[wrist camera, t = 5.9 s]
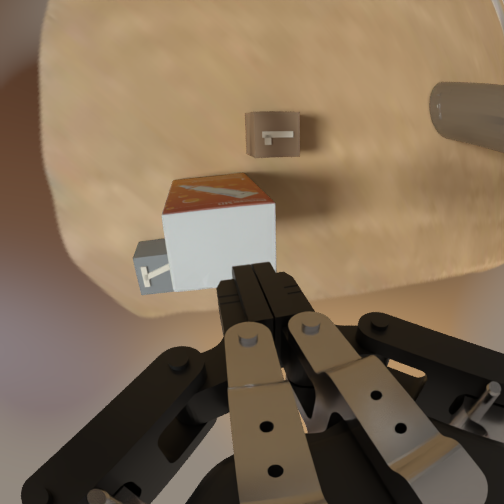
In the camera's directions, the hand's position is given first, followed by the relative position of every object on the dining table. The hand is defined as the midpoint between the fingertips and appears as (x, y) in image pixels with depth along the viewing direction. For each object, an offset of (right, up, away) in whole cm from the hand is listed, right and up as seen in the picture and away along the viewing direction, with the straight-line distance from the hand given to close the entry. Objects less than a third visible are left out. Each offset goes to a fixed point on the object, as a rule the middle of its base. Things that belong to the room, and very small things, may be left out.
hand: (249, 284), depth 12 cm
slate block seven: (-11, +1, +22) cm, 24 cm away
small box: (-5, +7, +21) cm, 22 cm away
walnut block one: (+2, +14, +18) cm, 23 cm away
